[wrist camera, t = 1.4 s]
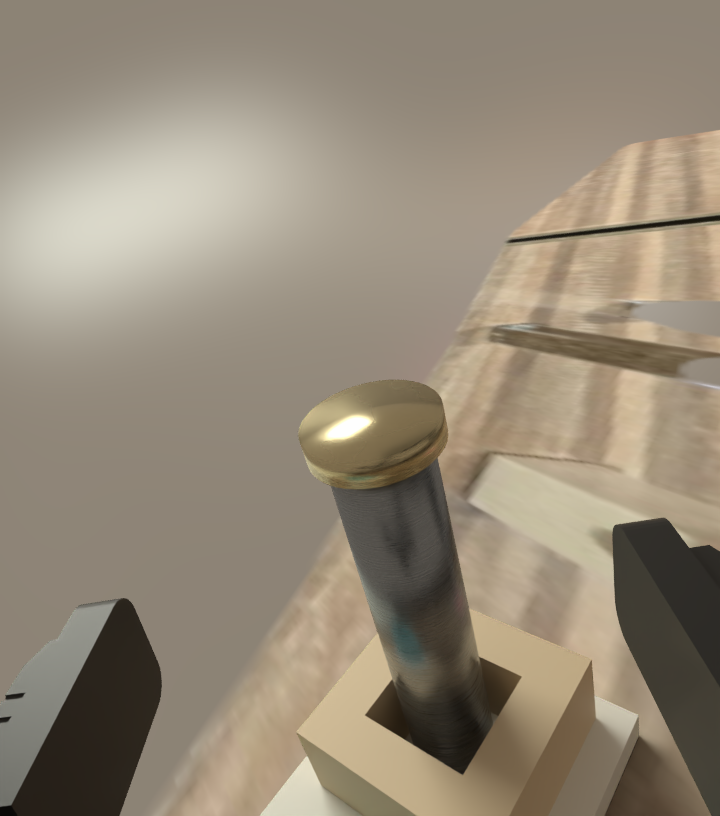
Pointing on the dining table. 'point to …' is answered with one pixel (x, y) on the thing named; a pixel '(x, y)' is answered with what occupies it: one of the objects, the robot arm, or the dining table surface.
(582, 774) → the dock
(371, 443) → the pin
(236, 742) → the dining table surface
